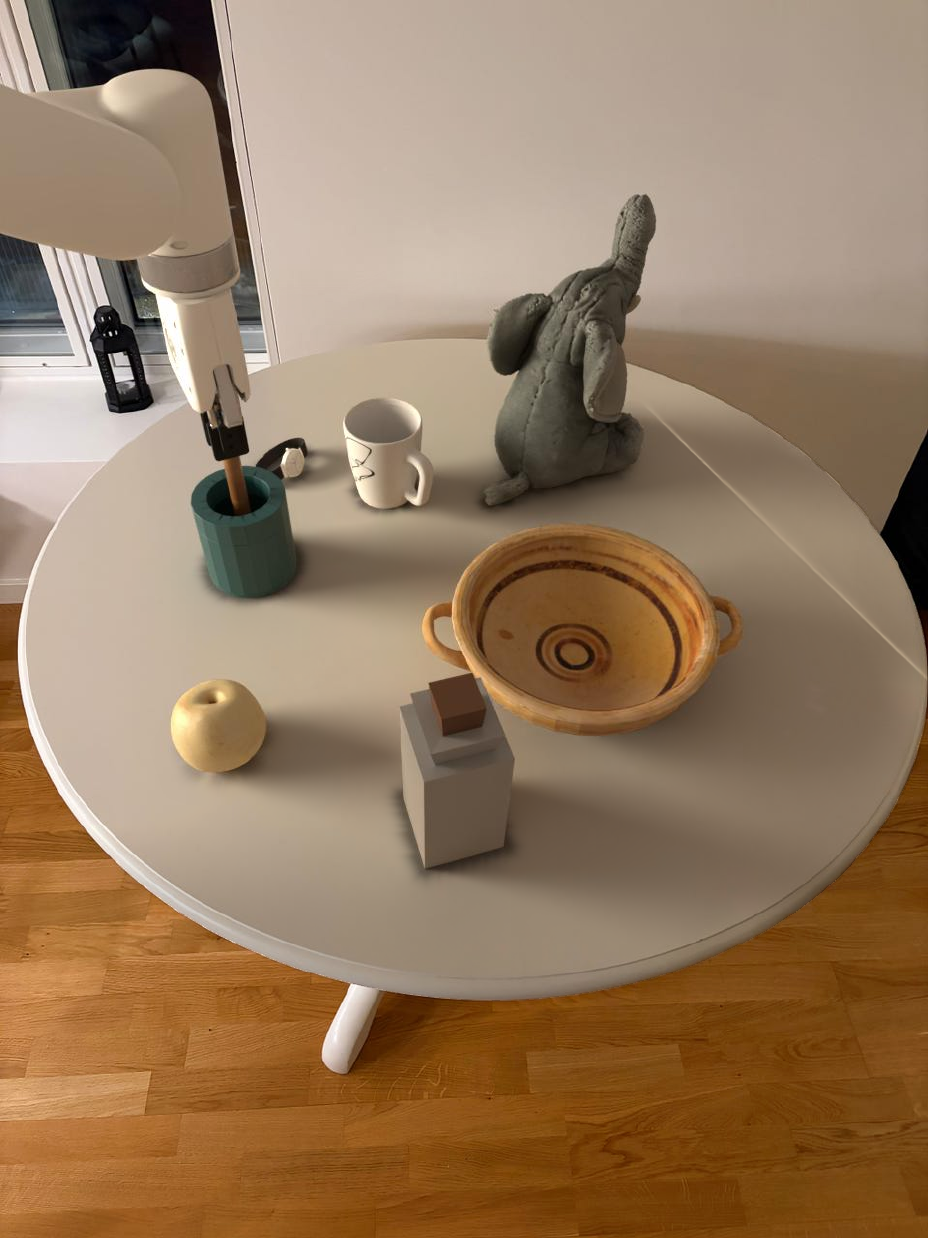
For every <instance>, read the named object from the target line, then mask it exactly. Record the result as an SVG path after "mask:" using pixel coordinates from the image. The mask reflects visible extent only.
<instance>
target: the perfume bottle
mask: <svg viewBox="0 0 928 1238" xmlns="http://www.w3.org/2000/svg"><path fill="white" fill-rule="evenodd" d="M427 684H428V689H423V690H419V691H415V692H411V693H410V694H409V695H410V698H411V701H412V703H409V704H405V705H401V706H398V707H399V727H400V728H399V729H400V732H399V733H400V753H401V773H402V795H403V796H402V797H403V802H404V805H405V808H406V811H407V814H408V818H409V821H410V825H411V828H412V832H413V834H414V838H415V841H416V844H417V847H418V851H419V854H420V857H421V861H422V865H423V867H424V869H425V870H426V869H429V868H433V867H436V866H439V865H443V864H447V863H451V862H454V861H457V860H461V859H466V858H469V857H472V856H476V855H480V854H483V853H487V852H490V851H494V850H497V849H502V848H504V846H505V839H506V830H507V823H508V817H509V808H510V807H509V806H510V800H511V791H512V784H513V776H514V770H515V769H514V768H515V762H516V758H515V755H514V753H513V751H512V748H511V746H510V744H509V741H508V738H507V736H506V734H505V731H504V729H503V726H502V724H501V721H500V719H499V716H498V713H497V711H496V709H495V707H494V704H493V702H492V700H491V696H490V694H489V693H488V692H487V689H486V687H485V686H484V684H483V681H482V679H481V677H479V678H476V677H475V676H474V674H473V673H472V672H469V673H465V674H461V675H456V676H451V677H447V678H443V679H439V680H433V681H430V682H428V683H427Z"/></svg>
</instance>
